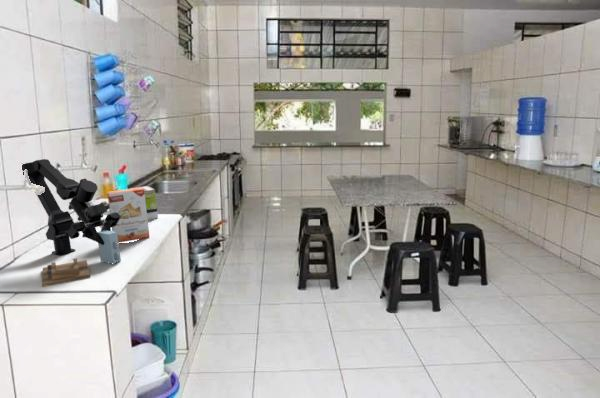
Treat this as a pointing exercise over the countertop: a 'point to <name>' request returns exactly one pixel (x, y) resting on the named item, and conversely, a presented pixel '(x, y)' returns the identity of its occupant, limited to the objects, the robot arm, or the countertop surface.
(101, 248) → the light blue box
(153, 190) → the tea box
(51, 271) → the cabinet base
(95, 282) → the countertop surface
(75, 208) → the robot arm
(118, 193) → the cracker box
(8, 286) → the countertop surface
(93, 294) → the countertop surface
